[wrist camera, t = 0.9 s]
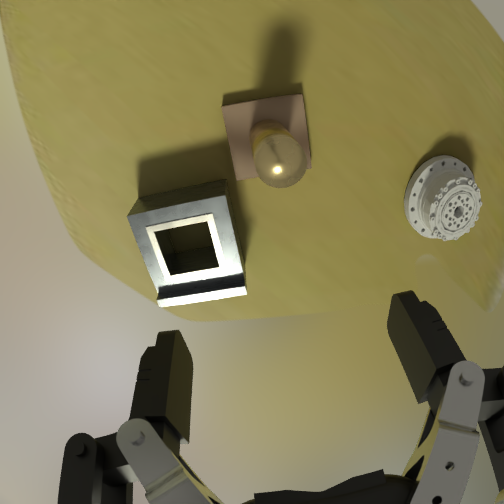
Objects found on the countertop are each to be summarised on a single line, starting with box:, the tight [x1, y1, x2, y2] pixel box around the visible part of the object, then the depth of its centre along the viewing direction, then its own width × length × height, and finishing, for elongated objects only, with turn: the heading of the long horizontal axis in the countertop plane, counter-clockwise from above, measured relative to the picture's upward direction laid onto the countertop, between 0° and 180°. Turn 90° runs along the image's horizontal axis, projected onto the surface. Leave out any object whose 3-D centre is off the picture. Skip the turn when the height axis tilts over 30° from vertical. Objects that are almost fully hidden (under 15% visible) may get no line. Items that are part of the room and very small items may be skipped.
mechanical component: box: [404, 155, 482, 241], centre depth 30 cm, size 10×4×10 cm
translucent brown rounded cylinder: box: [249, 119, 307, 188], centre depth 23 cm, size 3×3×8 cm
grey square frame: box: [127, 179, 247, 307], centre depth 31 cm, size 10×9×5 cm
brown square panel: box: [222, 94, 311, 181], centre depth 27 cm, size 7×7×1 cm
